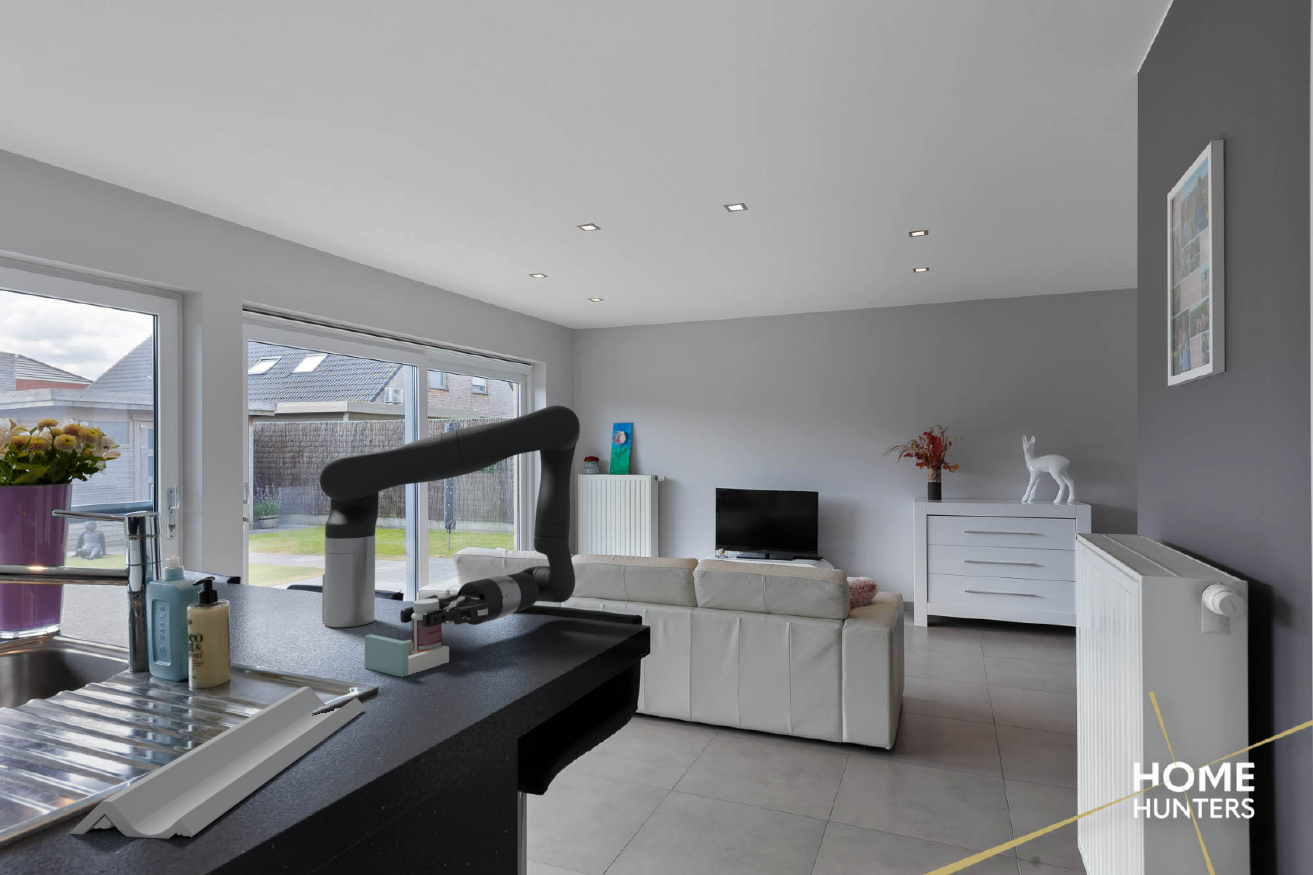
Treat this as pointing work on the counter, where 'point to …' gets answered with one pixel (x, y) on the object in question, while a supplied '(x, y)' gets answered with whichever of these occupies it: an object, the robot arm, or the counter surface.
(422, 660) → the u-shaped bracket
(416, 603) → the pill bottle
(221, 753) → the crown molding
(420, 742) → the counter surface
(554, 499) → the robot arm
